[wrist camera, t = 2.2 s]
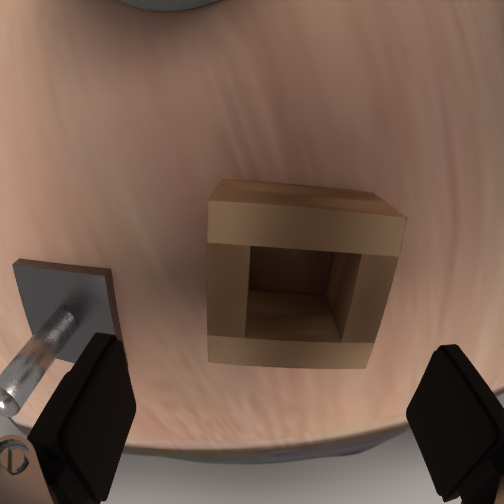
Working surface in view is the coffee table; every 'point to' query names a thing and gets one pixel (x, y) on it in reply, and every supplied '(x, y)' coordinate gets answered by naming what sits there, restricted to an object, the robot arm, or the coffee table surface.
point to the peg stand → (56, 322)
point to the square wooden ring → (296, 304)
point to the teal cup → (167, 4)
